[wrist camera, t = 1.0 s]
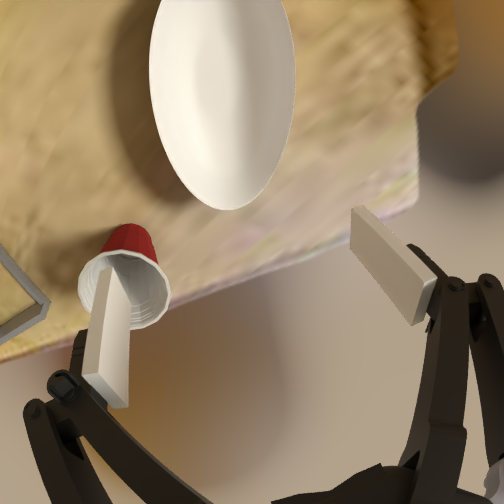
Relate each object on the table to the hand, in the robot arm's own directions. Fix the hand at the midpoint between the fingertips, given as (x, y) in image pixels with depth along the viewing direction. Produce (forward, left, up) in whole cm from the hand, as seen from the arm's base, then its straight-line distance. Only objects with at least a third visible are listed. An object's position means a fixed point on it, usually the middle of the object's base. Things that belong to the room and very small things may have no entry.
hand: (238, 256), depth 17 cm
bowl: (-6, +5, -26) cm, 27 cm away
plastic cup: (+8, -15, -26) cm, 30 cm away
